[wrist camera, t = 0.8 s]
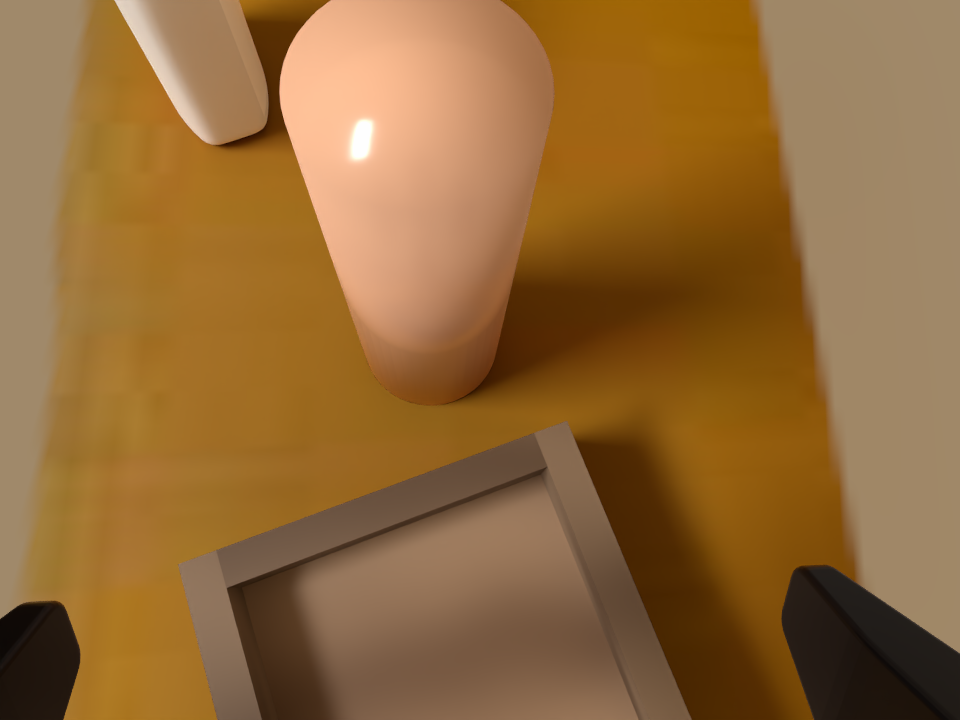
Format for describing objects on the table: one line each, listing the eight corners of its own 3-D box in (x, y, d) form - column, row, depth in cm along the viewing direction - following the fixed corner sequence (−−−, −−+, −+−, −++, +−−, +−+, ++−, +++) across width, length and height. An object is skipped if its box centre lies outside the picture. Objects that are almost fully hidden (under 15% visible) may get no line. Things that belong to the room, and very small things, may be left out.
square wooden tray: (699, 802, 20) (741, 838, 18) (323, 978, 19) (301, 1049, 16) (551, 440, 23) (566, 421, 20) (213, 566, 22) (178, 564, 19)
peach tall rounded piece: (516, 379, 24) (596, 159, 11) (389, 424, 23) (327, 244, 11) (469, 263, 25) (496, -51, 13) (347, 303, 24) (247, 14, 12)
